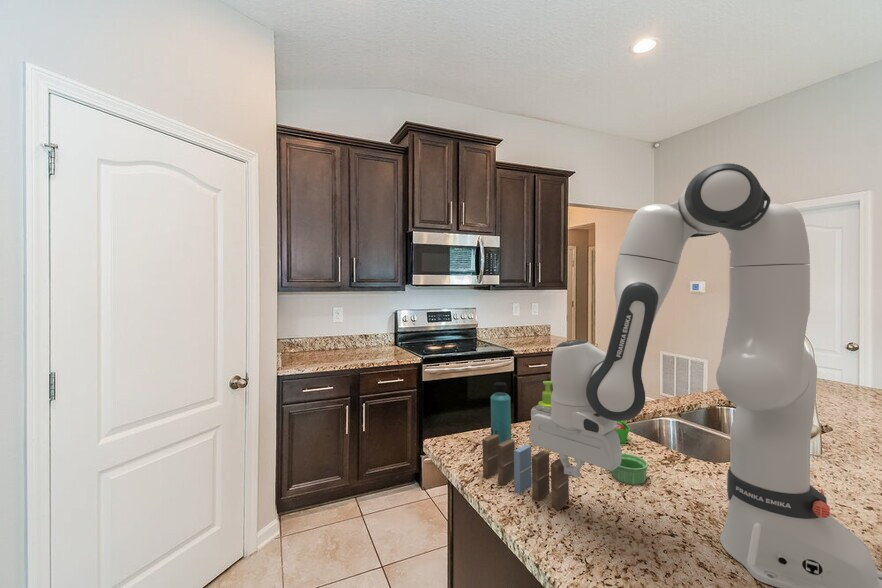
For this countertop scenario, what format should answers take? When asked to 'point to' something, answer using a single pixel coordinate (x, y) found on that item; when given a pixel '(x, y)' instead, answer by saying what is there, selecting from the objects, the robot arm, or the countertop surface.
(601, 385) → the robot arm
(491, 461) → the domino
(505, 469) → the domino
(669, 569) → the countertop surface
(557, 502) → the domino
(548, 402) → the soap dispenser
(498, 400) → the beverage bottle
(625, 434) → the fruit basket
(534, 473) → the domino
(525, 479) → the domino
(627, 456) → the ramekin
